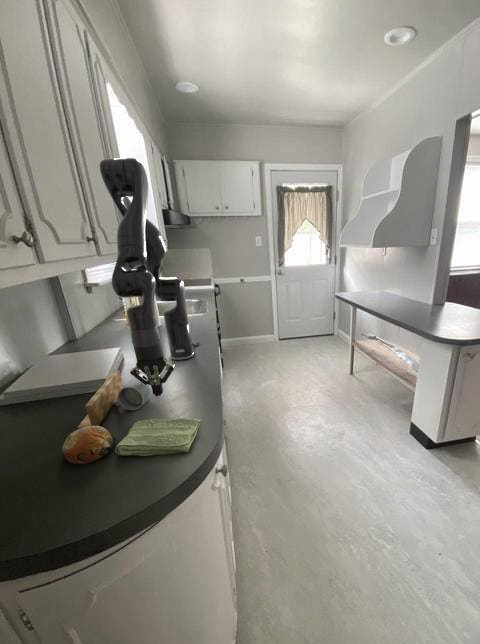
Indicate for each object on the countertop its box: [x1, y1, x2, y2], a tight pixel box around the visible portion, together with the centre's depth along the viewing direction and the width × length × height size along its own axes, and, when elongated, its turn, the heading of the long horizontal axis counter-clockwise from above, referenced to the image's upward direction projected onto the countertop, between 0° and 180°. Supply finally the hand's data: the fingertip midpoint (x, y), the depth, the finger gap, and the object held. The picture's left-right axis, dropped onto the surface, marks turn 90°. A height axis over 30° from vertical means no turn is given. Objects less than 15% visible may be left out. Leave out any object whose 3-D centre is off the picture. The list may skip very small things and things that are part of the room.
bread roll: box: [61, 425, 114, 465], centre depth 72 cm, size 10×10×8 cm
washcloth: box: [115, 417, 202, 457], centre depth 76 cm, size 13×18×3 cm
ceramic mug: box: [114, 378, 153, 411], centre depth 93 cm, size 11×8×8 cm
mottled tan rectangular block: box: [77, 369, 124, 430], centre depth 91 cm, size 24×5×7 cm, turn 11°
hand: (158, 394), depth 95 cm, fingers closed
